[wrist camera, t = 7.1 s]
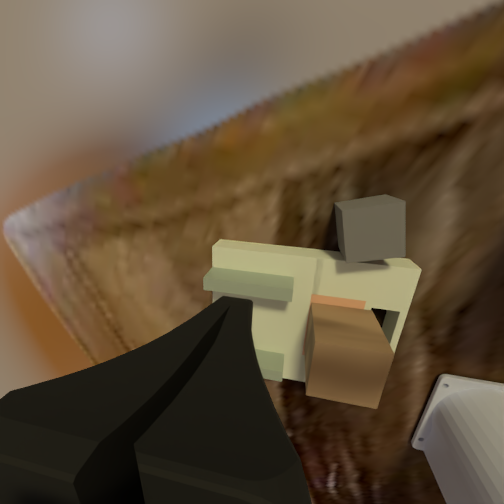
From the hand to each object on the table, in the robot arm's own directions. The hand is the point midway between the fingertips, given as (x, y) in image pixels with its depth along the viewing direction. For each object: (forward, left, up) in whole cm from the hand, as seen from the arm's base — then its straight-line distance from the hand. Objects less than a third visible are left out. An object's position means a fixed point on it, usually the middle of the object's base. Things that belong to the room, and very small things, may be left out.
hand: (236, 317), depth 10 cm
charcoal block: (+2, -7, -10) cm, 13 cm away
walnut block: (-6, -6, -8) cm, 12 cm away
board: (-6, -4, -10) cm, 13 cm away
